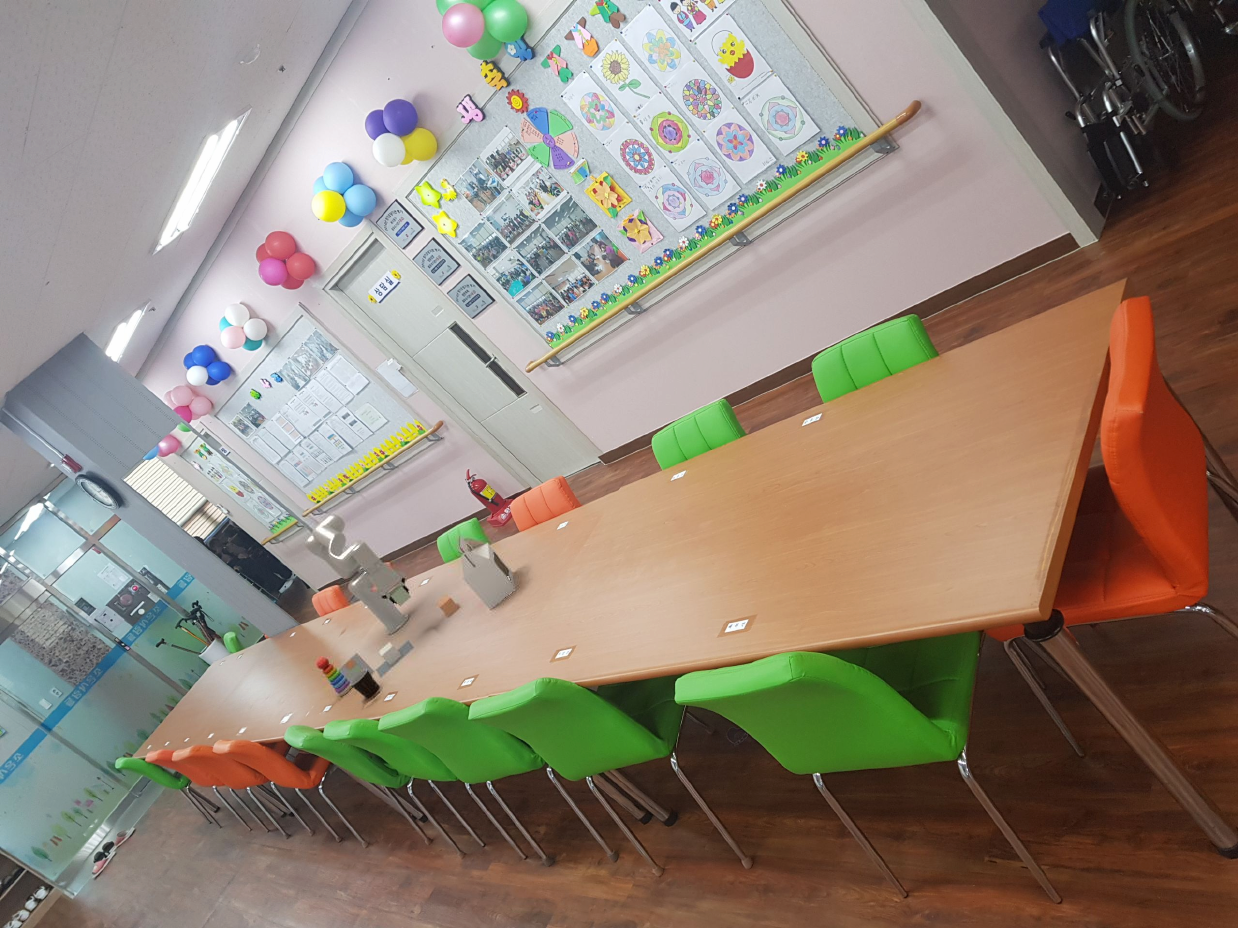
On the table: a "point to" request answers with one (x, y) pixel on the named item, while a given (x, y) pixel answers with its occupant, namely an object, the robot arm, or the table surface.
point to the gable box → (485, 571)
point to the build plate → (386, 667)
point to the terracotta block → (447, 605)
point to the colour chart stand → (354, 667)
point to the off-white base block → (390, 653)
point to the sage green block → (399, 595)
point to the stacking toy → (334, 677)
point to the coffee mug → (365, 684)
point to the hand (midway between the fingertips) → (402, 597)
